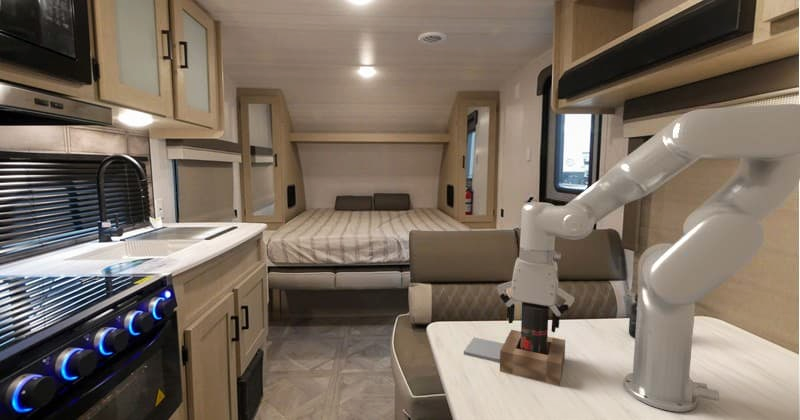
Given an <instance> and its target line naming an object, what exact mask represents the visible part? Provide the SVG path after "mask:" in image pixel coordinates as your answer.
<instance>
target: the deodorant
mask: <svg viewBox="0 0 800 420" xmlns="http://www.w3.org/2000/svg"><path fill="white" fill-rule="evenodd" d="M549 309H550V307H549V306H542V305H536V304H530V303H525V302H521V324H520V328H521V329H520V331H521V350H526V351H530V352H535V353H540V354H545V355H547V337H549V336H548V333H549V331H548V330H549Z"/></svg>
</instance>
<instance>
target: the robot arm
mask: <svg viewBox="0 0 800 420" xmlns="http://www.w3.org/2000/svg"><path fill="white" fill-rule="evenodd" d="M705 158H706V159H740V161H739V165H738V168H737V170H736V171H735V173H734V174H732V176H731V177H730V178H729V179H728V180H727V181H726V182H725V183H724V184H723V185H722V186H721V187H720V188H719V189H718V190H717V191H716V192H714V193H713V194H712V195H711V196H710V197H709V198H708V199H706V200H705V201H704V202H703V203H702V204H701V205H700V206H699V207H697V208H696V209H694V210H693V211H692V212H691V213H689V215H688V216H687V217H686V219H685V220H684V222H683V227H682V228H683V230H682V231H683V234H682V236H681V237H680V238H679V239H678V240H676V241H675V242H674V243H666V242H665V243H657V244H654V245H652V246H650V247H648V248H647V249H645V250H644V252H643V253H642V254H641V256H640V258H639V261H638V267H637V293H638V301H637V317H636V332H635V338H634V349H633V350H634V352H633V367H632V372H631V373H628V374H626V375H625V376H624V378H623V386H624V388H625V390H626V392H628V394H630V395H631V396H632V397H634V398H635V399H637V400H638V401H640V402H642V403H644V404H646V405H649V406H651V407H654V408H657V409H661V410H664V411H669V412H681V413H684V412H689V411H692V410H694V409H695V408H697V406H698V398H704V399H706V400H711V401H716V402H719V401H720V393H719V390H717V389H712V388H709V387H708V384H707V383H704V382H696V381H693V379H691V378H690V371H691V358H692V347H693V346H692V345H693V334H694V325H695V324H694V323H695V311H696V310H695V307H696V305H695V304H696V303H697V302H699V301H701V300H703V299H704V298H706V297H707V296H709V295H710V294H711V293H713V292H715V291H716V290H717V289H718V288H719V287H720V286H721V285H724V283H726V282H727V281H728V280H730V279H731V278H732V277H733V276H734V275H736V274H737V273H739V271H741V270H743V268H745V267H746V266H747V265H748V264H750V263H751V262H752V261H753V260H754V259H755V258H756V257H757V256H758V255H759V253H760V251H761V250H762V248H763V247H764V243H765V240H766V231H765V228H764V226H763V224H762V223H763V222H765V221H766V220H767V219H768V218H770V216H771V215H772V214H773V213H775V212H776V210H778V209H779V208H780V207H781V206H782V205H783V204H784V203H785V202H787V200H789V198H790V197H791V196H792V195H793V194H794V192H795V191H796V189H797V187H798V185H799V183H800V104H798V103H784V104H782V103H781V104H770V105H769V104H767V105H751V106H736V107H735V106H733V107H732V106H731V107H712V108H701V109H694V110H690V111H687V112H686V113H684V114H682V115H681V116H679V117H677V118H675V119H674V120H672V122H670V123H669V124H668V125H666V126H665V127H663V128H662V129H661V130H659V131H658V132H657V133H655V134H654V135H653V136H652V137H651V138H649V139H648V140H646V141H645V142H644V143H642V144H641V145H640V146H639V147H637V148H636V149H634V150H633V151H632V152H631V153H629V154H628V155H627V156H625V157H624V158H623V159H621V160H620V161H619V162H617V163H616V164H615V165H614V166H612V167H611V169H609V170H608V171H607V172H606V173H605V174H604V175H603V176H602V177H601V178H599V179H598V180H597V181H595V182H594V183H593V184H591V185H590V186H589V187H587V189H585V190H584V191H582V192H581V193H580V194H578V195H577V196H576V197H574V198H573V199H572V200H570V201H569V202H568V203H566V204H565V205H554V204H552V203H549V202H542V201H539V202H538V201H531V202H526V203H524V204H523V205H522V208H521V216H520V217H521V219H520V239H519V256H518V257H517V258H516V260H515V263H514V267H513V272H512V279H511V280H510V281H507V282H503V283H501V284H498V285H497V286H496V290H497V293H498V295H499V298H500V299H501V300H502V301H503V303H504V304H505V306H506V319H508V324H513V322H514V320H515V310H516V309H515V307H516V306H515V303H516V302H520V303H523V302H525V303H530V304H536V305H542V306H549V309H550V310H551V312H553V313H552V319H551V329H550V331H551V332H552V333H555V332H556V329H559V327H560V316H562V315H563V314H564V313H565V312H566V311H569V309H570V307H571V306H572V305H573V303H574V302H575V297H574V296H573V295H571V294H569V293H568V292H566V291H565V290H564V289H562V288H560V287H559V267H558V263H557V261H555V260H561V256H562V253H561V252H557V251H556V250H555V244H556V243H555V242H556V241H555V240H556V237H558V238H559V237H560V238H562V239H567V240H572V241H573V240H576V241H577V240H581V239H585V238H586V237H588V236H589V235H590V234H591V233H592V231H593V230H594V225H595V224H597V223H598V222H600V221H602V220H603V219H604V218H606V217H607V216H608V215H610V214H611V213H613V212H615V211H616V210H618V209H619V208H621V207H624V205H626V204H629V203H631V202H633V201H636V200H639V199H641V198H642V199H643V198H644V197H646V196H647V195H650V194H651V193H653V191H655V190H657V189H659V188H660V187H661V186H662V185H664V184H665V183H667V182H669V180H671V179H672V178H674V177H675V176H677V175H678V174H679V173H681V172H682V171H684V170H686V169H687V168H689V167H690V166H692V165H693V164H694V163H696V162H697V161H698V160H700V159H705ZM508 289H510V296H509V295H508V294H507V292H506V291H505V290H508ZM558 296H559V297H561V298H562V299H564V301H565V302H564V303H563V304H561V305H559V304H558V303H557V300H558V298H559V297H558Z"/></svg>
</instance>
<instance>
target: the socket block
mask: <svg viewBox="0 0 800 420" xmlns="http://www.w3.org/2000/svg"><path fill="white" fill-rule="evenodd" d="M503 343H504V345H503V347H502V348H501V350H500V362H499V372H500V373H505V374H508V375H509V374H510V375H513V376H518V377H521V378H524V379H525V378H526V379H529V380H534V381H537V382H542V383H545V384H549V385H554V386H558V387H561V384H562V377H563V372H564V371H563V370H564V365H565V358H566V357H565V356H566V339H563V338H557V337H552V336H548V337H547V355H545V354H540V353H535V352H530V351H526V350H521V330H515V329H511V330H510V332H509V333H508V334H507V337H506V339H505V341H504V342H503Z"/></svg>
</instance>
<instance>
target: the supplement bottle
mask: <svg viewBox="0 0 800 420" xmlns="http://www.w3.org/2000/svg"><path fill="white" fill-rule="evenodd" d="M637 301H638V292H637V293H636V292H635V294H634V302H632V303H631V305H629V321H628V335H629V336H630V337H631V338H632V339H635V332H636V317H637Z"/></svg>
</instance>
